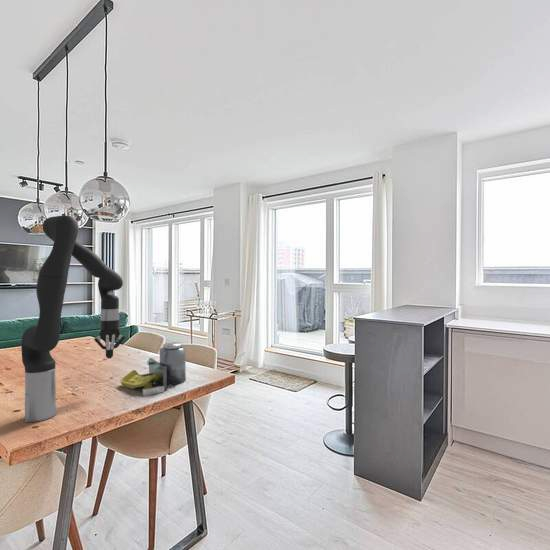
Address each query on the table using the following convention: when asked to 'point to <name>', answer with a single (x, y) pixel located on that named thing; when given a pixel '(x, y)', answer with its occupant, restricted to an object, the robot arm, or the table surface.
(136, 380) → the plastic component
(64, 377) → the table surface
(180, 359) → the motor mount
